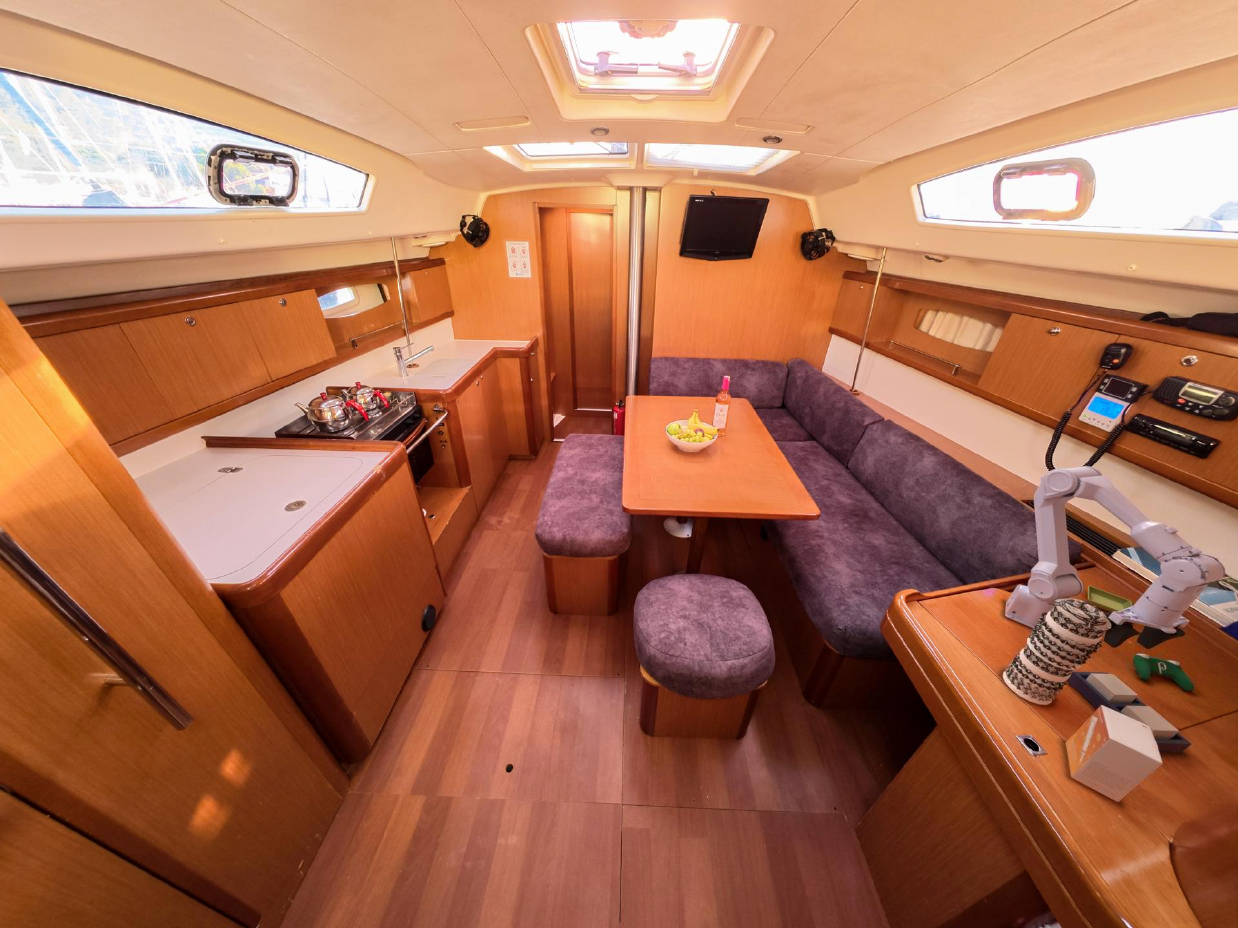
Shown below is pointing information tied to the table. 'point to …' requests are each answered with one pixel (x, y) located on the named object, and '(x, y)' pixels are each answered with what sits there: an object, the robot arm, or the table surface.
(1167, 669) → the gaming controller
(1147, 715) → the beige block
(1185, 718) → the table surface
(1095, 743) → the small box
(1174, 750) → the holder
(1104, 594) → the green shallow tray
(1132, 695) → the white squarish block
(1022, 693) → the decorative candle
